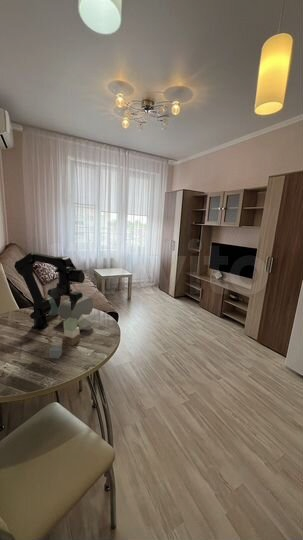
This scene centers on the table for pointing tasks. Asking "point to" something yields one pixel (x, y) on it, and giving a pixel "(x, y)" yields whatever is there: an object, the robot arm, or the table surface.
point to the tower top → (71, 333)
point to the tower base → (70, 340)
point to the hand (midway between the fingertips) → (65, 308)
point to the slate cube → (55, 351)
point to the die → (85, 322)
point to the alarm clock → (76, 308)
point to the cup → (53, 307)
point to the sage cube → (70, 324)
